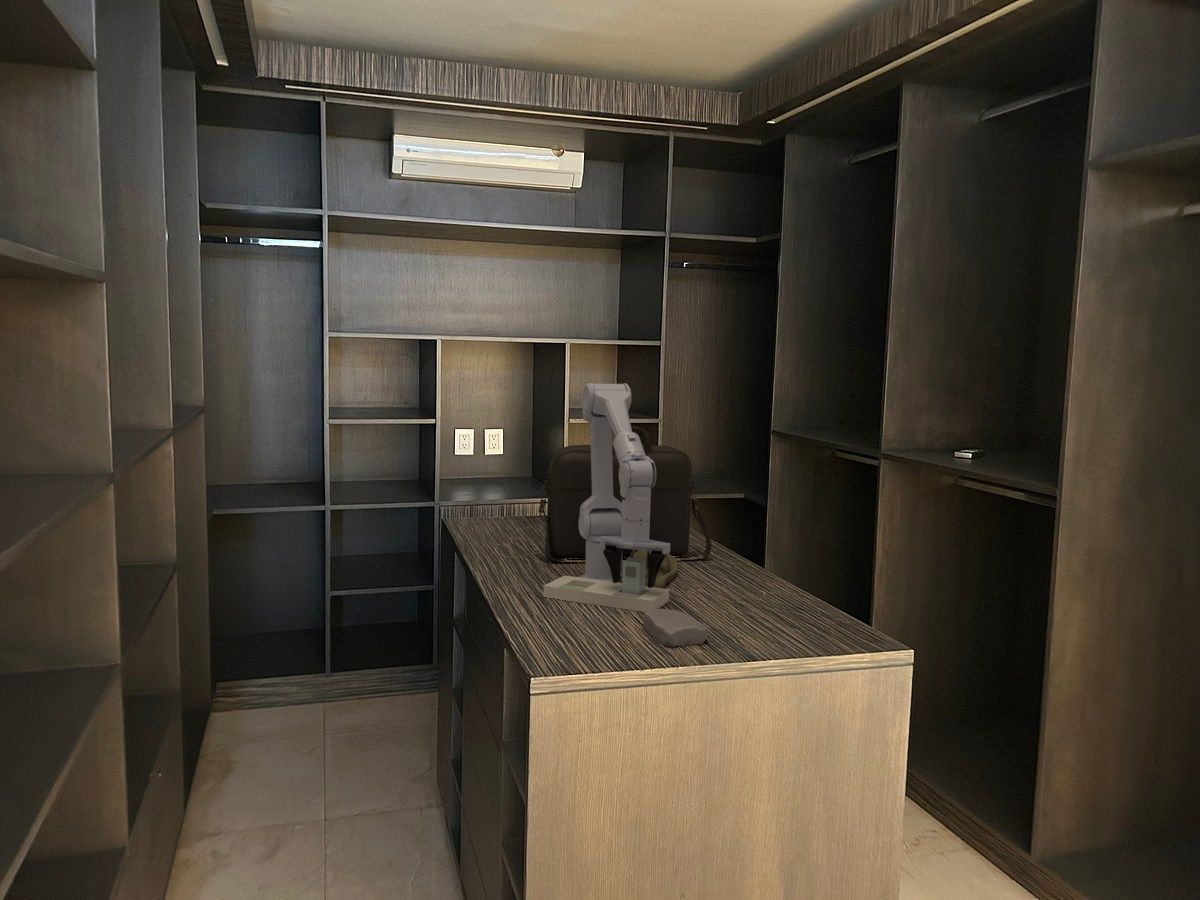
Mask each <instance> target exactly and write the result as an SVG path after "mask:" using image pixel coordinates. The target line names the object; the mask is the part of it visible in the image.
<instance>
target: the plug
mask: <svg viewBox="0 0 1200 900" xmlns="http://www.w3.org/2000/svg"><path fill="white" fill-rule="evenodd" d="M625 559H626V560H624V561H623V563H622V572H623V576H622V577H621V579H622V593H629V594H637V595H643V594H644V593H645V569H646V559H638V558H625Z"/></svg>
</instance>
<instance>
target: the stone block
mask: <svg viewBox="0 0 1200 900" xmlns="http://www.w3.org/2000/svg"><path fill="white" fill-rule="evenodd" d="M642 618H643V619H642V629H643V631H644V632H645V633H647V635H649V636H650V635H651V636H650V637H652V638H653V639H654V638H655V639H654V640H656V641H658V642H659V643H660V644H661V645H663V646H665V647H668V648H671V647H672V648H676V646H678V647H677V648H680V647H679V646H681V647H684V646H685V645H686V646H694V645H693V644H701V645H703V643H705V641H706V640H707V638H708V636H709V635H708V634H709V627H708V626H706V625H705V624H704V623H700V622H699V621H697V620H695V619H694V618H693V617H691V616H690V615H688V614H687V613H685V612H683V611H680V610H674V609H669V608H659V609H656V610H652V611H649V612H644V615H643V617H642Z"/></svg>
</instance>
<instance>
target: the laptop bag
mask: <svg viewBox="0 0 1200 900" xmlns="http://www.w3.org/2000/svg"><path fill="white" fill-rule="evenodd" d="M631 429H635V430H636V431H637V435H638V436H639V438H640V441H641V444H642V446H643V449H644V452H645V455H646V456H648V457H649V458H650V459H652V460H653V461H654V464H655V467H656V482H655V485H654V487H653V488H651V501H650V529H649V539H650V540H655V541H660V542H665V543H670V553H669V554H670V555H671V556H682V555H685V556H686V555H687V554H688V552H689V547H690V546H689V545H690V525H691V512H692V515H693V516H694V518H695V519H696V521H697V523H698V524H699V527H700V528H701V531H702V532H703V535H704V537H705V544H706V546H705V547H706V548H705V550H704V552H703V553H702V554H700V555H702V556H703V557H706V558H708V557H709V556H710V554H711V551H712V541H711V538H710V535H709V532H708V530H707V527H706V525H705V523H704V521H703V518H702V515H701V510H700V509H699V506H698V504H699V501H698V498H697V488H696V486H695V483H694V481H692V477H693V474H692V473H693V469H692V462H691V461H692V460H691V458H690V456H689V455H688V454H687V453H686V452H684V451H682V450H679V449H678V448H674V447H671V446H669V445H661V444H659V445H656V444H655V445H652V441H651V438H650V435H649V433H648V432H647V431H646V430H645V429H644V428H642V427H639V426H635V425H632V424H631ZM612 464H613V496H614V497H615V498H616V499H618V500H619V501H620V502H621V503H622V496H621V493H620V482H619V468H620V465H619V462H618V459H617V456H616V453H615V449H614V446H613V444H612ZM548 465H549V466H548V472H547V474H546V478H545V480H544V482H543V486H542V489H541V493H542V494H541V497H544V499H543V498H541V499H540V501H539V508H538V509H537V510H538V511H537V512H538V514H539V518H540V520H541V521H542V522H543V525H544V529H545V537H544V550H545V553H546V555H547V557H548V558H549V559H550V560H551V561H553V562H555V561H557V562H556V563H559V562H558V561H563V560H561V559H565V558H567V559H569V558H573V559H574V558H586V539H584V538H583V537H582V536H581V534H580V532H579V516H580V507H581V505H582V503H584V502H585V501H586V500H587V499H588V498H590V497H591V496H592V473H591V444H574V445H573V444H572V445H566V446H564V447H561V448H560V449H557V451H555V452H554V453H553V454H552V456H551V459H550V462H549V464H548ZM544 491H545V492H546V494H545V496H543V494H544V493H543V492H544ZM693 491H694V492H695V493H694V494H695V498H694V495H693ZM546 505H547V506H546ZM691 505H692V506H691ZM545 506H546V507H547V511H546V512H547V514H546V512H545ZM601 510H613V509H611V508H595V509H592V510H591V511H601ZM542 513H543V516H544V520H545V521H544V520H543V517H542ZM545 522H546V523H545ZM632 550H633V549H624V548H623V552H622V559H625V558H624V557H627V558H626V559H628V557H630V554H631V551H632Z"/></svg>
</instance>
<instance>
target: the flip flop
mask: <svg viewBox="0 0 1200 900" xmlns="http://www.w3.org/2000/svg"><path fill="white" fill-rule="evenodd" d="M650 553H651V552H650V551H642V550H632V551H631V554H630V558H638V559H646V569H645V586H647V587H648V560H647V555H648V554H650ZM678 570H679V569H678V561H675V559H674V558H673V557H672V556H671V555H670V554H669V553H668V554H666V557H665V558H664V560H663V562H662V564H661V566H660V568H659V571H658V574H657V577H656V581H655V586H654V587H655V588H662V589H665V587H666V585H667V584H668V583H670V582H671V581H672V580H671V579H673V578H674V577H675V576H676V577H677V575H678ZM676 574H677V575H676ZM676 577H675V578H676ZM675 578H674V579H675ZM674 579H673V580H674ZM670 580H671V581H670ZM669 581H670V582H669ZM620 583H622V578H620Z"/></svg>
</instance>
